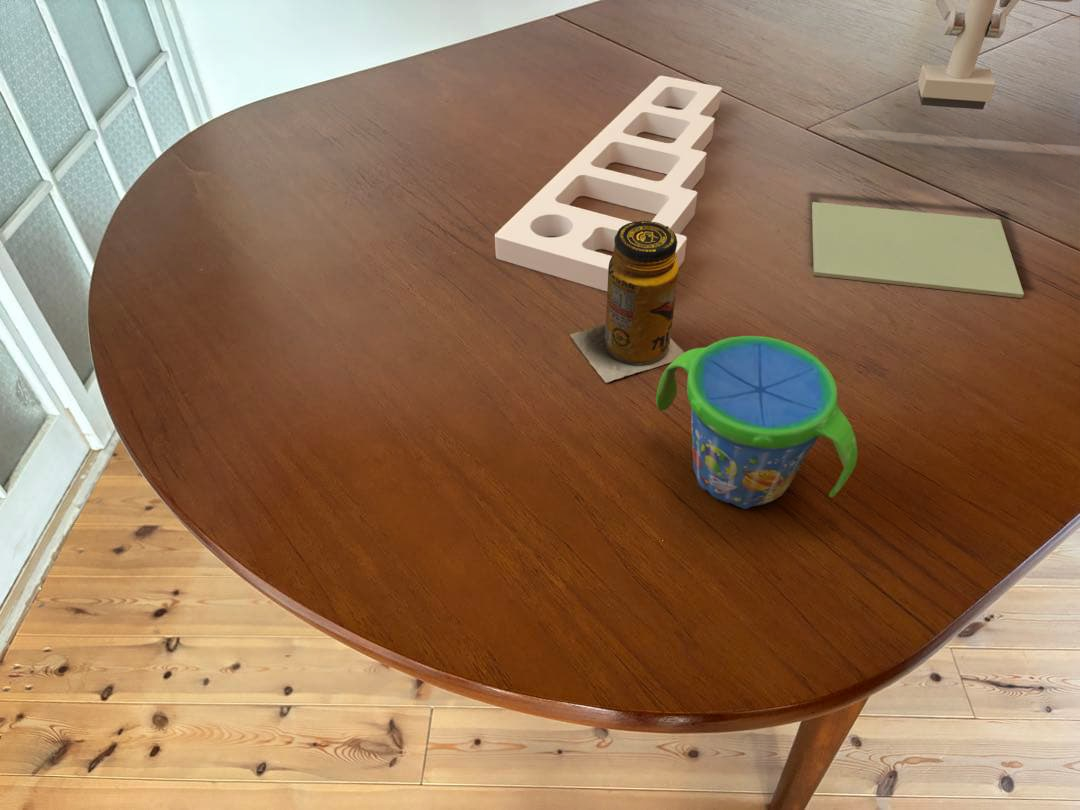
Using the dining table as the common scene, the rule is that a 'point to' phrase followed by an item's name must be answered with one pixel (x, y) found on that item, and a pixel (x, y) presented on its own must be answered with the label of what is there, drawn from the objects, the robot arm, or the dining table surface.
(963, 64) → the brush
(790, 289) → the dining table surface
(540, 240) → the holder
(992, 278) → the mat
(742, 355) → the snack cup
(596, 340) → the condiment
